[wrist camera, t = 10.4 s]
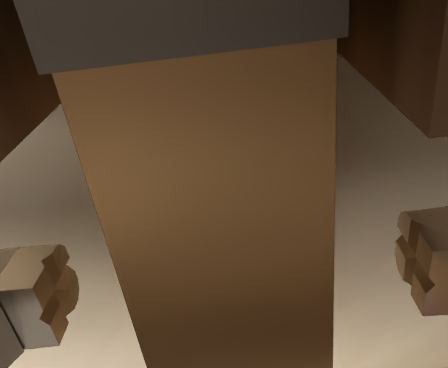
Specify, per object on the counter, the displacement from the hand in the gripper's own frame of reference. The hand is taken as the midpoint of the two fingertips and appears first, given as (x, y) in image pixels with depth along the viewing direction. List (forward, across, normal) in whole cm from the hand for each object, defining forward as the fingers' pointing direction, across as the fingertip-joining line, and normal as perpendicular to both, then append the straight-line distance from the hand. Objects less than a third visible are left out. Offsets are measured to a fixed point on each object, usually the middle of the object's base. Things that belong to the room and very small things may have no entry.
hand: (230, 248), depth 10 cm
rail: (+4, 0, +1) cm, 4 cm away
